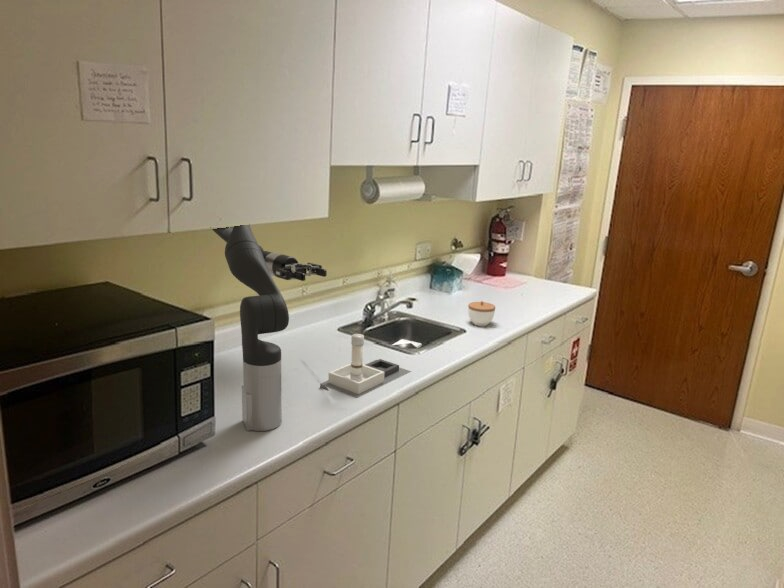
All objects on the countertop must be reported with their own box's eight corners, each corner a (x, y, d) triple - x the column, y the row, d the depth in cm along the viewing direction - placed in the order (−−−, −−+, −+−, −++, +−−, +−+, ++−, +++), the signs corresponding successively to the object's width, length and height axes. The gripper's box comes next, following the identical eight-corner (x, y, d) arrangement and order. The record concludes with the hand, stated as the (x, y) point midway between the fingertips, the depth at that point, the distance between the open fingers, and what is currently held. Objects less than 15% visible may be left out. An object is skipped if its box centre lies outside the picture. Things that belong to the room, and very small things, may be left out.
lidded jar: (474, 328, 229) (476, 305, 227) (462, 320, 239) (464, 298, 236) (498, 327, 233) (500, 304, 230) (485, 319, 242) (487, 297, 240)
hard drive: (405, 353, 196) (421, 343, 207) (384, 348, 200) (401, 338, 211) (405, 358, 197) (421, 347, 207) (384, 352, 200) (401, 342, 211)
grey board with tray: (356, 401, 161) (357, 387, 160) (320, 387, 169) (320, 373, 168) (411, 374, 181) (411, 361, 180) (376, 363, 189) (376, 350, 188)
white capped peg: (352, 384, 169) (354, 338, 165) (348, 379, 172) (349, 334, 168) (364, 382, 170) (365, 337, 167) (359, 377, 173) (361, 333, 170)
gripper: (262, 257, 179) (297, 266, 169) (298, 251, 190) (332, 260, 180) (262, 280, 181) (297, 291, 171) (297, 274, 192) (332, 283, 181)
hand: (315, 275), depth 175 cm, fingers open, 8 cm apart
